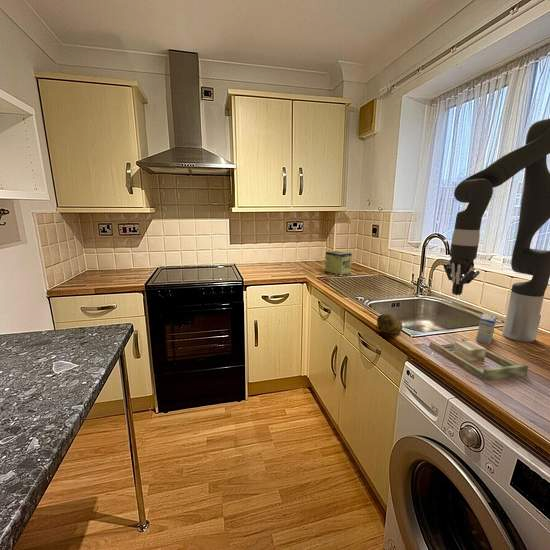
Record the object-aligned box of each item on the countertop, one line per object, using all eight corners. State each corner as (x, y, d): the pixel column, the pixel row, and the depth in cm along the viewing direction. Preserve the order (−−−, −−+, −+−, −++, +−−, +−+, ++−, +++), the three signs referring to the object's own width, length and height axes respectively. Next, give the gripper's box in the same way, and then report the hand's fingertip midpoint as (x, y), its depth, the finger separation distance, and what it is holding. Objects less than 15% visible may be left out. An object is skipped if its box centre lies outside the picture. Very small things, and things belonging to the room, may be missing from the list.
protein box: (341, 276, 206) (342, 254, 202) (324, 272, 218) (325, 251, 214) (350, 274, 212) (352, 253, 209) (333, 271, 224) (334, 250, 221)
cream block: (468, 351, 101) (470, 340, 100) (484, 360, 95) (486, 348, 94) (453, 352, 99) (455, 341, 99) (467, 361, 94) (469, 350, 93)
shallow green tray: (464, 342, 107) (465, 334, 106) (526, 375, 86) (528, 365, 86) (429, 345, 104) (430, 337, 103) (485, 380, 83) (487, 370, 83)
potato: (411, 335, 113) (413, 315, 111) (384, 340, 108) (386, 319, 106) (394, 326, 120) (397, 308, 118) (369, 331, 115) (370, 311, 114)
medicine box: (478, 334, 115) (482, 312, 113) (492, 337, 112) (497, 315, 110) (476, 340, 109) (480, 318, 107) (490, 344, 106) (495, 321, 104)
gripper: (492, 246, 92) (482, 299, 96) (458, 241, 104) (450, 288, 108) (472, 246, 90) (462, 300, 94) (439, 241, 103) (432, 289, 107)
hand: (456, 294), depth 101 cm, fingers closed
